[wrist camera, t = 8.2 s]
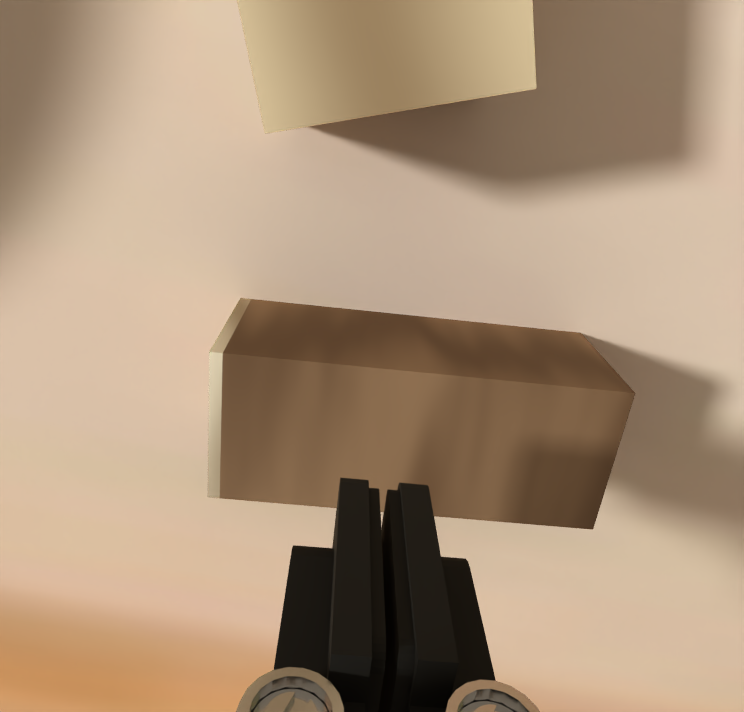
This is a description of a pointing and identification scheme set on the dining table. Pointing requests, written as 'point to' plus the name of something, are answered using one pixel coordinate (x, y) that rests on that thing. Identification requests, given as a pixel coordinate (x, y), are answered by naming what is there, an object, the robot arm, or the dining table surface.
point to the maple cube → (382, 55)
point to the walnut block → (412, 412)
